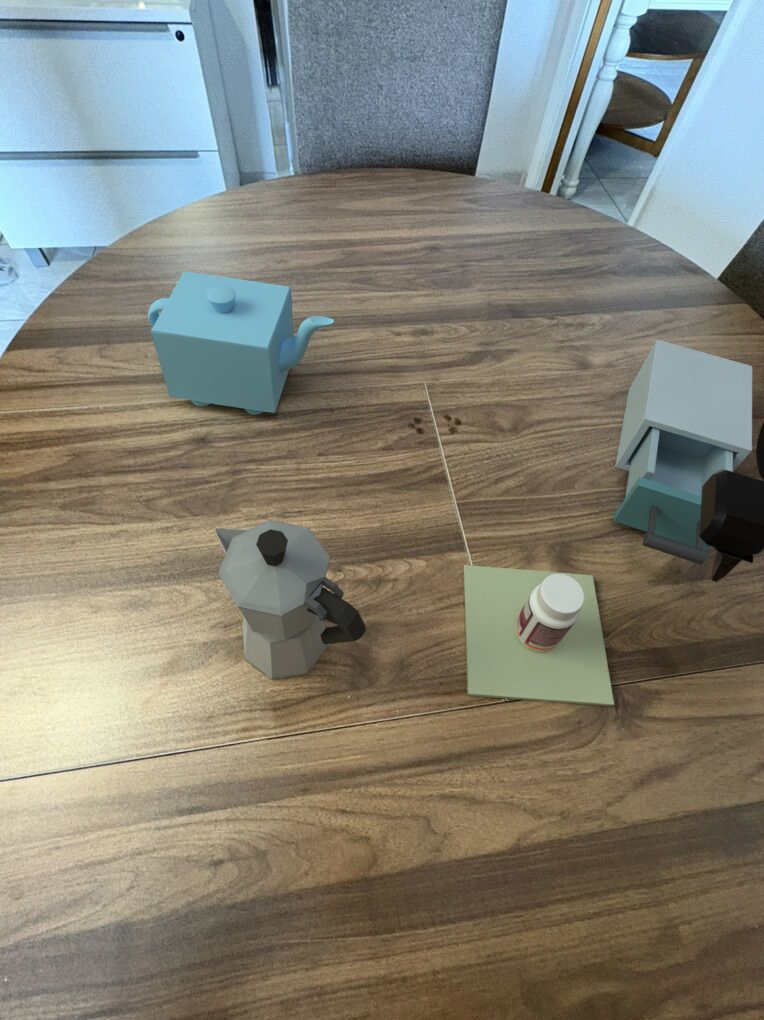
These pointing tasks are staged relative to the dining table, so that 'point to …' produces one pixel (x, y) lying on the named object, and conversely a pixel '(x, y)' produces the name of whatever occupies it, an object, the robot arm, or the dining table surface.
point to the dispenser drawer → (670, 491)
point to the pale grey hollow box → (689, 401)
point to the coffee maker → (284, 597)
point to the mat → (517, 669)
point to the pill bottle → (549, 612)
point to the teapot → (228, 341)
